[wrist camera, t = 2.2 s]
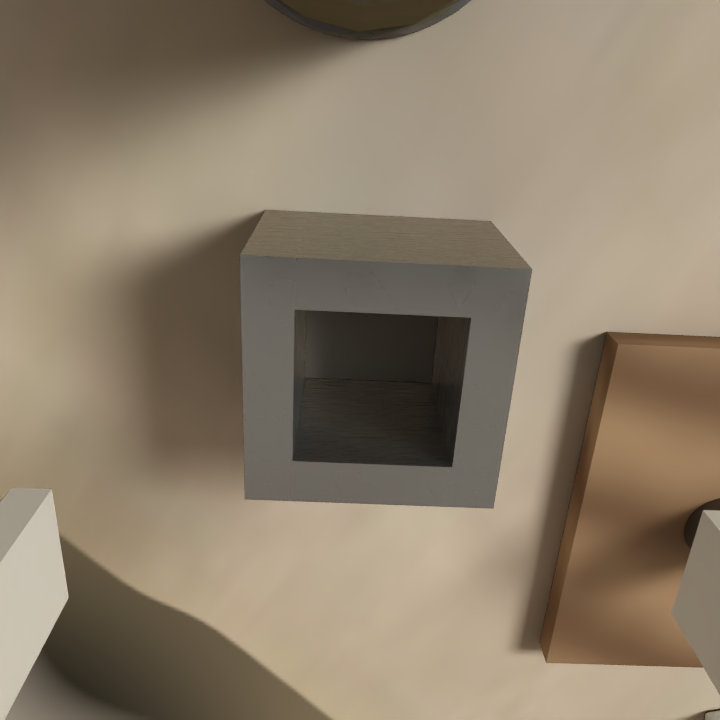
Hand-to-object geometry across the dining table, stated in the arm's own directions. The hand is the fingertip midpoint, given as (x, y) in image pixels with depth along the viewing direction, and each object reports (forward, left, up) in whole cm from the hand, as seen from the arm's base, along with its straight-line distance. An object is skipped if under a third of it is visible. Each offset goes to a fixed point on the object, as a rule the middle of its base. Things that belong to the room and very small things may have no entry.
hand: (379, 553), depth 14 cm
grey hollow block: (0, 0, -13) cm, 13 cm away
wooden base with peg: (+8, +15, -13) cm, 21 cm away
